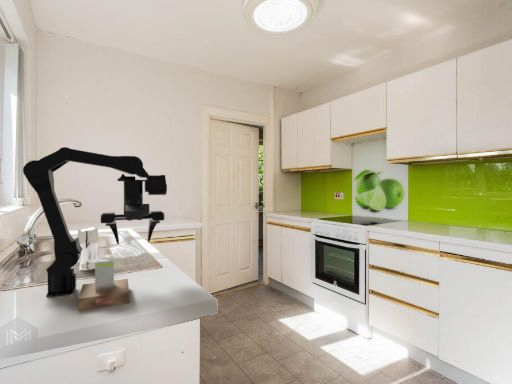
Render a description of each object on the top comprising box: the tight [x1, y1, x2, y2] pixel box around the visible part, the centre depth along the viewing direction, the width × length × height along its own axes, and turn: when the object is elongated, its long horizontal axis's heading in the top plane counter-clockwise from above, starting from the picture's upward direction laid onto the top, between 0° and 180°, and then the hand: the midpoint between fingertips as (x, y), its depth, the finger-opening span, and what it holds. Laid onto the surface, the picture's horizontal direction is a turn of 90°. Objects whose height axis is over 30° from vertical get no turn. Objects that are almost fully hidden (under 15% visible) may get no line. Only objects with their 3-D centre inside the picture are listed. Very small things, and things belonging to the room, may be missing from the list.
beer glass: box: [77, 227, 99, 271], centre depth 111 cm, size 7×7×15 cm
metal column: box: [94, 256, 115, 292], centre depth 82 cm, size 4×4×8 cm
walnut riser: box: [77, 278, 130, 311], centre depth 82 cm, size 12×12×3 cm
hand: (133, 243), depth 95 cm, fingers open, 9 cm apart
